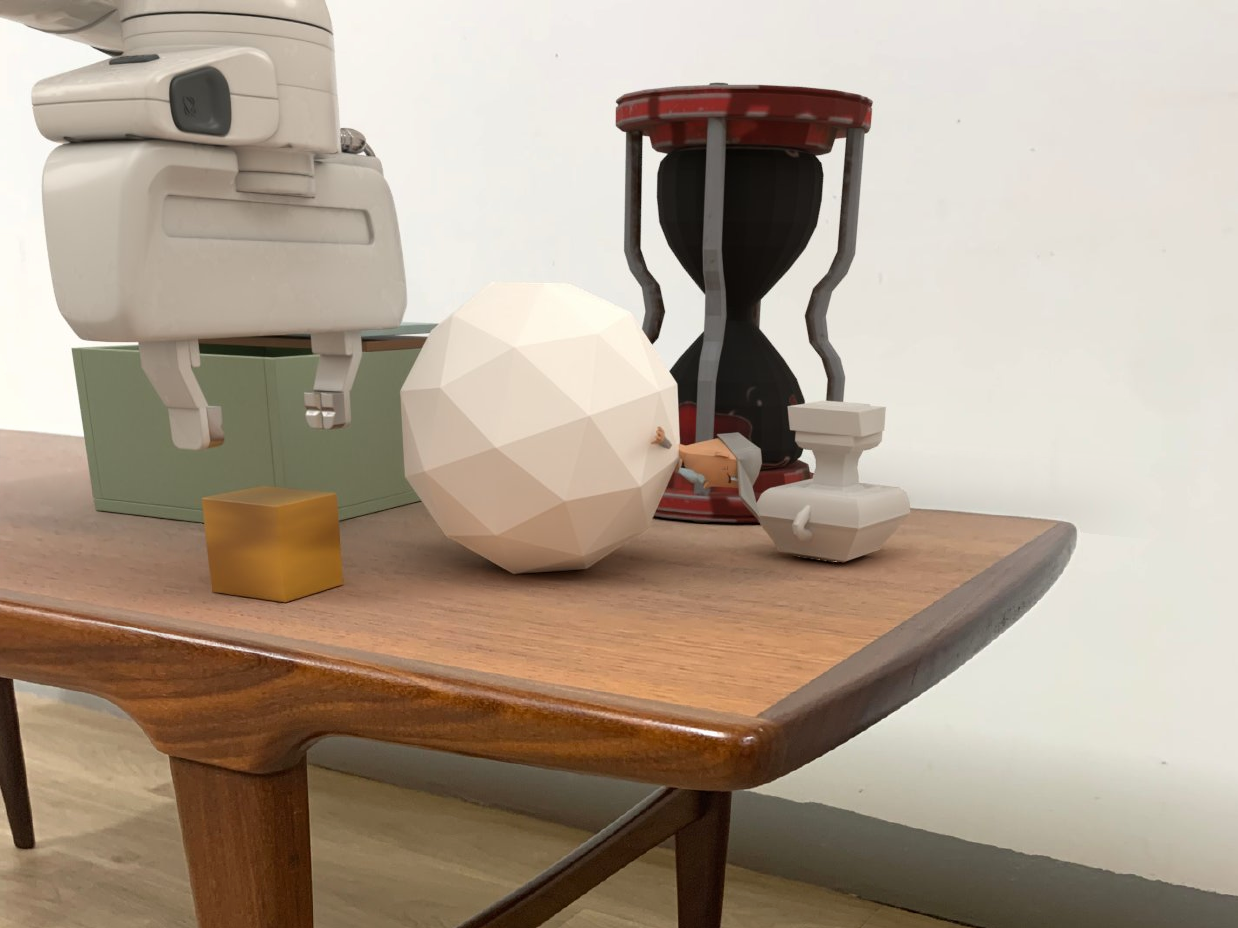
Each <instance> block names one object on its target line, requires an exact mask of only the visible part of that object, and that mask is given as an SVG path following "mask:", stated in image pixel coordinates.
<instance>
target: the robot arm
mask: <svg viewBox="0 0 1238 928" xmlns="http://www.w3.org/2000/svg"><path fill="white" fill-rule="evenodd" d="M0 18H1V19H5V20H7V21H12V22H15V23H18V24H22V25H24V26H26V27H27V28H30V29H33V30H36V31H40V32H43V33H46V34H49V35H53V36H55V37H58V38H63V39H66V40H69V41H72V42H76V43H80V44H83V45H87V46H89V47H91V48H92V49H94V50H97V51H99V52H101V53H103V54H105V55H107V56H109V58H106V59H103V60H100V61H97V62H94V63H91V64H87V65H84V66H81V67H78V68H74V69H71V70H68V71H65V72H64V71H63V72H61V73H58V74H54V75H51V76H47V77H44V78H42V79H39V80H38V81H36V82H35V83H34V84H33V86H32V88H31V93H30V95H31V96H30V97H31V98H30V99H31V106H32V114H33V117H34V122H35V124H36V128H37V130H38V132H39V133H40V135H41V136H42V137H43V138H44V139H46V140H47V141H50V142H52V143H57V144H60V145H58V146H56V147H55V148H54V149H52V150H51V151H50V153H49V154H48V156H47V158H46V159H45V162H44V166H43V169H42V176H41V203H42V213H43V225H44V234H45V243H46V251H47V258H48V266H49V271H50V276H51V283H52V289H53V294H54V297H55V298H54V299H55V302H56V305H57V308H58V311H59V313H60V315H61V317H62V318H63V319H64V320H65V322H66V323H67V325H68V326H69V327H70V329H71V330H72V331H73V333H74V334H75V335H76V336H77V337H78V338H79V339H80V340H83V341H87V342H100V343H137V345H139V352H140V359H141V367H142V369H143V371H144V372H145V374H146V376H147V377H148V379H149V380H150V382H151V384H152V385H153V387H154V389H155V390H156V392H157V393H158V395H159V397H160V398H161V400H162V402H163V403H164V405H165V406H166V407H168V412H169V419H170V427H171V435H172V440H173V442H174V445H175V446H176V447H178V448H179V449H188V450H203V449H208V448H214V447H219V446H221V445H223V442H224V439H225V438H224V431H223V430H222V428H221V426H222V423H223V419H222V410H221V407H219V406H208V404H207V402H206V399H205V397H204V395H203V393H202V391H201V389H200V387H199V384H198V382H197V380H196V378H195V376H194V374H193V371H192V369H191V367H193V368H194V367H199V366H200V364H201V363H200V353H199V344H198V339H210V338H229V337H248V336H267V335H287V334H306V333H311V344H312V352H313V354H320V357H319V362H318V367H317V372H316V377H315V382H314V388H313V390H315V391H309V392H304V404H305V407H306V409H307V412H306V415H305V416H306V422H307V424H308V426H309V427H311V428H312V429H324V430H331V429H339V428H346V427H347V426H349V425H350V423H351V408H350V393H349V391H351V389H352V386H353V383H354V379H355V376H356V373H357V370H358V367H359V364H360V361H361V357H362V344H361V331H364V330H383V329H396V328H398V327H399V326H400V325H401V322H403V320H404V316H405V314H406V312H407V311H406V310H407V307H408V289H407V279H406V268H405V262H404V261H405V260H404V254H403V252H404V251H403V245H402V239H401V232H400V225H399V219H398V214H397V207H396V203H395V201H394V196H393V193H392V190H391V188H390V185H389V183H388V181H387V180H386V178H385V177H384V168H383V165H382V162H381V160H380V158H379V157H377V156H376V154H375V152H374V150H373V149H372V147H371V146H370V145H369V143H368V142H367V138H366V137H365V135H364V134H363V133H362V132H360V131H358V130H357V129H354V128H351V127H341V123H340V111H339V110H340V108H339V98H338V83H337V68H336V54H335V53H336V51H335V50H336V49H335V37H334V28H333V27H334V26H333V21H332V18H331V14H330V11H329V8H328V6H327V3H326V0H0ZM363 153H364V154H363Z"/></svg>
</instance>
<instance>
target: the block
mask: <svg viewBox="0 0 1238 928" xmlns="http://www.w3.org/2000/svg"><path fill="white" fill-rule="evenodd" d="M202 508H203V517H204V523H203V525H204V534H205V543H206V552H207V560H208V568H209V569H208V571H209V577H210V579H209V580H210V586H211V592H212V593H215V594H216V593H217V594H224V595H229V596H230V595H231V596H237V597H244V598H251V599H257V600H258V599H259V600H265V601H272V602H277V603H289V602H291V601H295V600H299V599H301V598H304V597H307V596H311V595H314V594H317V593H320V592H324V591H326V590H327V591H328V590H330V589H334V588H337V587H340V586H342V585H344V576H343V575H344V574H343V573H344V572H343V562H342V547H341V532H340V521H339V518H338V504H337V493H332V492H322V491H312V490H302V489H292V488H282V487H272V486H260V487H255V488H250V489H245V490H239V491H234V492H229V493H224V494H219V495H214V496H208V497H203V498H202Z"/></svg>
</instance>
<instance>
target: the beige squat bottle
mask: <svg viewBox="0 0 1238 928" xmlns="http://www.w3.org/2000/svg"><path fill="white" fill-rule="evenodd" d="M886 410H887V407H886V406H878V405H877V406H876V405H871V404H870V403H860V402H846V401H843V402H836V401H826V400H819V401H812V402H805V404H800V405H793V406H788V415H789V425H790V430H795V431H796V435H795V442H796V443H797V444H798V446H799V447H801V448H803V450H806V451H812V454H813V457H814V459H815V468H814V472H813V473H814V475H813V479H808V480H804V481H800V482H795V483H791V484H786V485H782V486H777V487H773V488H769V489H768V490H766V491H765V492H763V493H762V494H761V496H760V498H759V500H758V502H757V507H758V511H759V515H760V518H761V520H760V519H758V518H757V519H758V521H759V522H758V523H759V524H760V526H761V527H762V529H763V530H764V531H765V532H766V534H767V536H769V538H770V539H771V540H772V542H773V543H774V544H775V546H776V548H777V550H778V551H777V552H781V553H784V554H787V555H790V556H793V557H796V556H800V557H799V558H801V557H806V558H805V559H808V558H813V559H812V560H814V559H820V560H819V561H821V560H826V561H825V562H827V561H837V562H842V563H846V562H847V561H851V560H853V559H857V558H860V557H862V556H865V555H868V554H871V553H874V552H878V551H880V550H882V548H883V546H884V545H885V543H886V542H887V541H888V540H889V539H890V538H891V537H892V535H893V534H894V533H895V532H897V530H898V529H899V527H901V525H902V524H903V523H904V521H905V520H906V519H907V517H908V516H909V515H910V514H911V502H910V499H909V496H908V494H907V492H906V491H905V490H904V489H903V488H901V487H900V486H899V487H898V486H893V485H880V484H874V483H872V484H871V483H867V482H866V483H864V482H859V481H860V478H859V476H860V475H859V469H858V467H859V459H860V458H861V456H862V454H863V452H865V451H869V450H871V449H872V450H873V449H874V448H876V447H878V446H880V444H881V443H882V441H883V432H884V431H885V424H886Z"/></svg>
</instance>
